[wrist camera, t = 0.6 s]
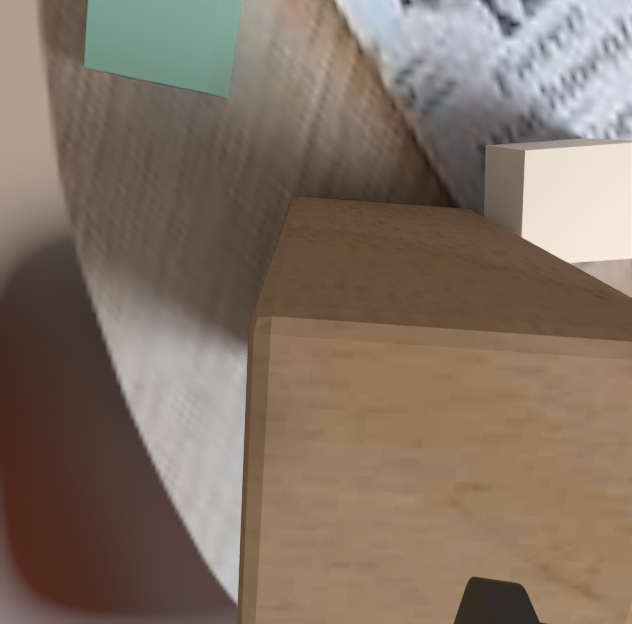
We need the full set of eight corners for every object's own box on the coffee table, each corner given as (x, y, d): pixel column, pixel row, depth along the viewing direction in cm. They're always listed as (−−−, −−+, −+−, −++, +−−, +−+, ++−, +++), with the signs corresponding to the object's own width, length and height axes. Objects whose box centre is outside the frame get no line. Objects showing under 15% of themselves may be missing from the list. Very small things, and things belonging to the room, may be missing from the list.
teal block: (139, -33, 27) (92, -74, 22) (243, -11, 28) (224, -46, 22) (130, 78, 29) (83, 67, 23) (228, 98, 29) (206, 92, 23)
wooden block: (291, 194, 30) (246, 310, 11) (476, 208, 31) (736, 344, 12) (280, 366, 34) (232, 681, 15) (449, 378, 34) (619, 704, 15)
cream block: (485, 145, 30) (525, 150, 24) (582, 138, 30) (645, 141, 24) (483, 240, 31) (520, 266, 26) (575, 233, 31) (633, 258, 25)
